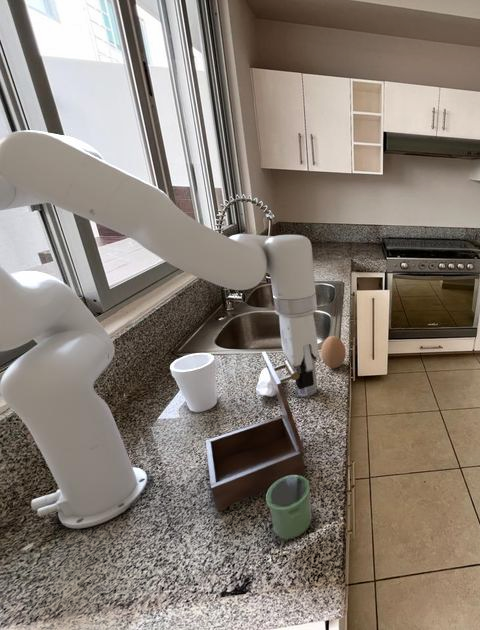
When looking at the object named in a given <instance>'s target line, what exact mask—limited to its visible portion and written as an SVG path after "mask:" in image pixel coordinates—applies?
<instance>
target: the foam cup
mask: <svg viewBox="0 0 480 630" xmlns="http://www.w3.org/2000/svg"><path fill="white" fill-rule="evenodd" d="M216 366H217V365H216V360H215V356H214V355H213V354H211V353H206V352H197V353H192V354H191V353H190V354H187V355H184V356H182V357H179V358H177V359H175V360H174V361H173V362H172V363H170V366H169V370H170V374H171V376H172V378H173V379H174V380H175V382H176V384H177V387H178V388H179V390H180V393H181V395H182V397H183V400H184V401H185V403H186V405H187V407H188V409H189V410H190V411H191V412H192V413H193V412H194V413H201V412H205V411H208V410H210V409H212V408H214V407H215V406H216V405H217V403H218V395H217V393H218V392H217V380H216V379H217V377H216Z"/></svg>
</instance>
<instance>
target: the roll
mask: <svg viewBox="0 0 480 630" xmlns="http://www.w3.org/2000/svg"><path fill="white" fill-rule="evenodd" d="M276 373H277V375H278V377H279V379H280V378H283V377H282V376H283V372H282V369H280V370H277V371H276ZM255 393H256V395H257V396H263V397H264V396H265V397H266V396H267V397H275V396H277V395H276V392H275V389H274V387H273V384H272V381H271V378H270V375H269V372H268V370H267V367H266V366H265V367H264V368H263V369H262V370H261V371H260V375H259V379H258V382H257V384H256V389H255Z"/></svg>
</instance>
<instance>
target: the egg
mask: <svg viewBox="0 0 480 630" xmlns="http://www.w3.org/2000/svg"><path fill="white" fill-rule="evenodd" d="M346 353H347V352H346V347H345V344H344V342H343V341H342V340H341V339H340V337H338V336H336V335H330V336H328V337H327V338H325V339H324V341H323V343H322V345H321V349H320V356H321V361H322V362H323V363H324V364H325V366H326V367H328V368H331V369H337V368H339V367H341V366H342V365H343V363H344V362H345V361H346V360H345V359H346V355H347V354H346Z"/></svg>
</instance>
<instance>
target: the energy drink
mask: <svg viewBox="0 0 480 630" xmlns="http://www.w3.org/2000/svg"><path fill="white" fill-rule="evenodd" d="M315 362H316V361H314V360H313V358H312V364H313V380H314V385H312V386H309V387H306V388H302V389H298V387H297V386H296V391H297V395H298V396H299V397H308V396H312V395H314V394H315V393H318V382H317V373H316V371H317V370H316V363H315ZM296 369H297V368H296Z"/></svg>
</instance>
